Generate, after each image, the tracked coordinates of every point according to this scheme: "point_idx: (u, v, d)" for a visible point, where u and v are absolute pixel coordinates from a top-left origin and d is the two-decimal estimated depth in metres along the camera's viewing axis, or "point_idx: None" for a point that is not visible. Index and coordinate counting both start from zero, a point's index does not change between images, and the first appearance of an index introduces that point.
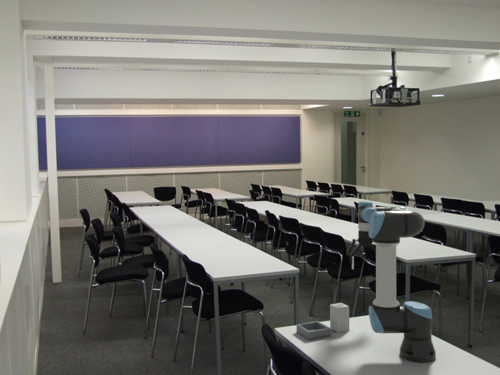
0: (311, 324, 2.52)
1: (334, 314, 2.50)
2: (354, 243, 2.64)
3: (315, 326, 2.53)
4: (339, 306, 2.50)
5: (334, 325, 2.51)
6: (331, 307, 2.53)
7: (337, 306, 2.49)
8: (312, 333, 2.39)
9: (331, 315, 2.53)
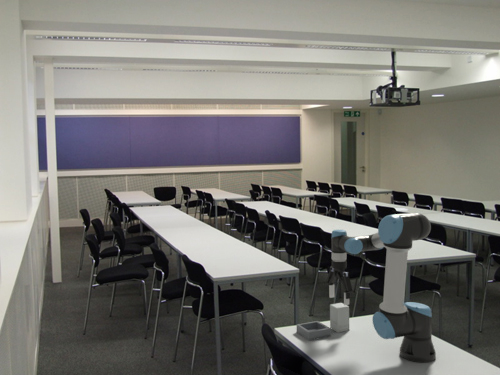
0: (311, 324, 2.52)
1: (334, 314, 2.50)
2: (330, 271, 2.56)
3: (315, 326, 2.53)
4: (339, 306, 2.50)
5: (334, 325, 2.51)
6: (331, 307, 2.53)
7: (337, 306, 2.49)
8: (312, 333, 2.39)
9: (331, 315, 2.53)
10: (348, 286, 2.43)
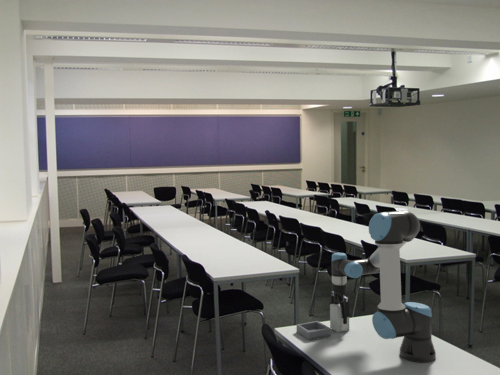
0: (311, 324, 2.52)
1: (334, 314, 2.50)
2: (331, 296, 2.56)
3: (315, 326, 2.53)
4: (339, 306, 2.50)
5: (334, 325, 2.51)
6: (331, 307, 2.53)
7: (337, 306, 2.49)
8: (312, 333, 2.39)
9: (331, 315, 2.53)
10: (346, 312, 2.45)
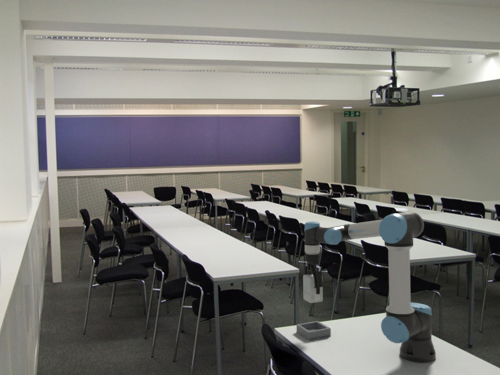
0: (311, 324, 2.52)
1: (307, 284, 2.43)
2: (305, 266, 2.49)
3: (315, 326, 2.53)
4: (312, 276, 2.43)
5: (306, 296, 2.43)
6: (304, 277, 2.45)
7: (310, 276, 2.42)
8: (312, 333, 2.39)
9: (304, 286, 2.45)
10: (319, 281, 2.38)
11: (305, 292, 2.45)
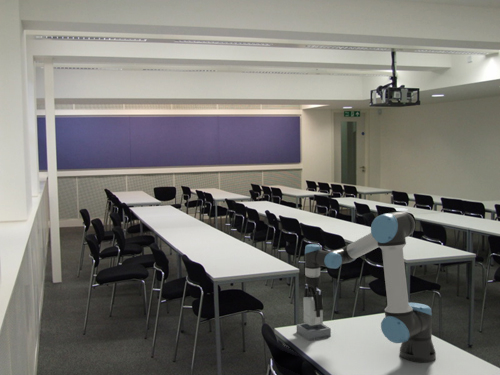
0: None
1: (307, 307, 2.43)
2: (305, 288, 2.50)
3: (315, 326, 2.53)
4: (312, 299, 2.43)
5: (307, 318, 2.44)
6: (304, 300, 2.46)
7: (310, 299, 2.43)
8: (312, 333, 2.39)
9: (304, 308, 2.46)
10: (319, 305, 2.39)
11: (305, 314, 2.46)
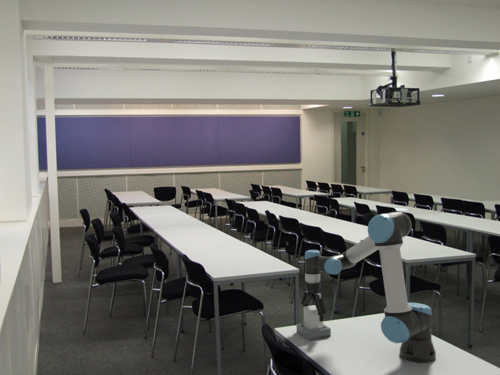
0: None
1: (307, 316, 2.44)
2: (304, 292, 2.50)
3: None
4: (313, 308, 2.44)
5: (307, 328, 2.44)
6: (304, 309, 2.46)
7: (310, 309, 2.43)
8: (312, 333, 2.39)
9: (304, 318, 2.46)
10: (321, 308, 2.37)
11: (305, 324, 2.46)
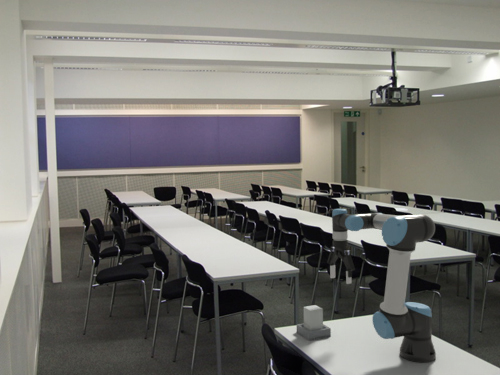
0: None
1: (307, 316, 2.44)
2: (331, 251, 2.55)
3: None
4: (313, 308, 2.44)
5: (307, 328, 2.44)
6: (304, 309, 2.46)
7: (310, 309, 2.43)
8: (312, 333, 2.39)
9: (304, 318, 2.46)
10: (350, 264, 2.42)
11: (305, 324, 2.46)
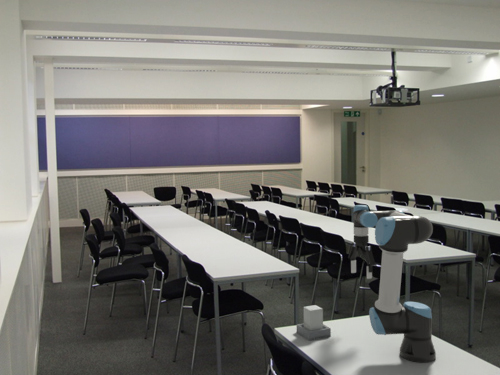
0: None
1: (307, 316, 2.44)
2: (352, 246, 2.60)
3: None
4: (313, 308, 2.44)
5: (307, 328, 2.44)
6: (304, 309, 2.46)
7: (310, 309, 2.43)
8: (312, 333, 2.39)
9: (304, 318, 2.46)
10: (371, 259, 2.46)
11: (305, 324, 2.46)
